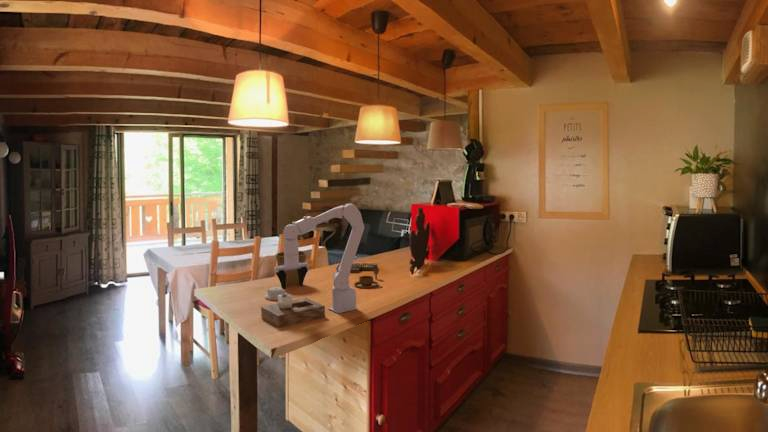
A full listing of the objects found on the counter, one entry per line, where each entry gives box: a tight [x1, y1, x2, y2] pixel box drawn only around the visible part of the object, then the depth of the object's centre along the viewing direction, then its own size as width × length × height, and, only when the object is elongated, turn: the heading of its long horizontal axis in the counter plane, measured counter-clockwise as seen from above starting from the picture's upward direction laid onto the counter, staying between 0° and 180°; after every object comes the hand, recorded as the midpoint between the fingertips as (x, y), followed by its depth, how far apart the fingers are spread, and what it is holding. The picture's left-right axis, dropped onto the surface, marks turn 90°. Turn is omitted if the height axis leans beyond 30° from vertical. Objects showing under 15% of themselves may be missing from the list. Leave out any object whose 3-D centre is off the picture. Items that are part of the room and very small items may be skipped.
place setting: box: [354, 268, 383, 290], centre depth 241 cm, size 18×20×6 cm
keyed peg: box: [277, 293, 293, 310], centre depth 186 cm, size 5×5×8 cm
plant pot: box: [275, 250, 307, 287], centre depth 241 cm, size 15×15×16 cm
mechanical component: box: [264, 286, 288, 301], centre depth 218 cm, size 10×4×10 cm
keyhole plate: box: [260, 297, 326, 328], centre depth 189 cm, size 20×15×4 cm
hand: (292, 287), depth 195 cm, fingers open, 7 cm apart
